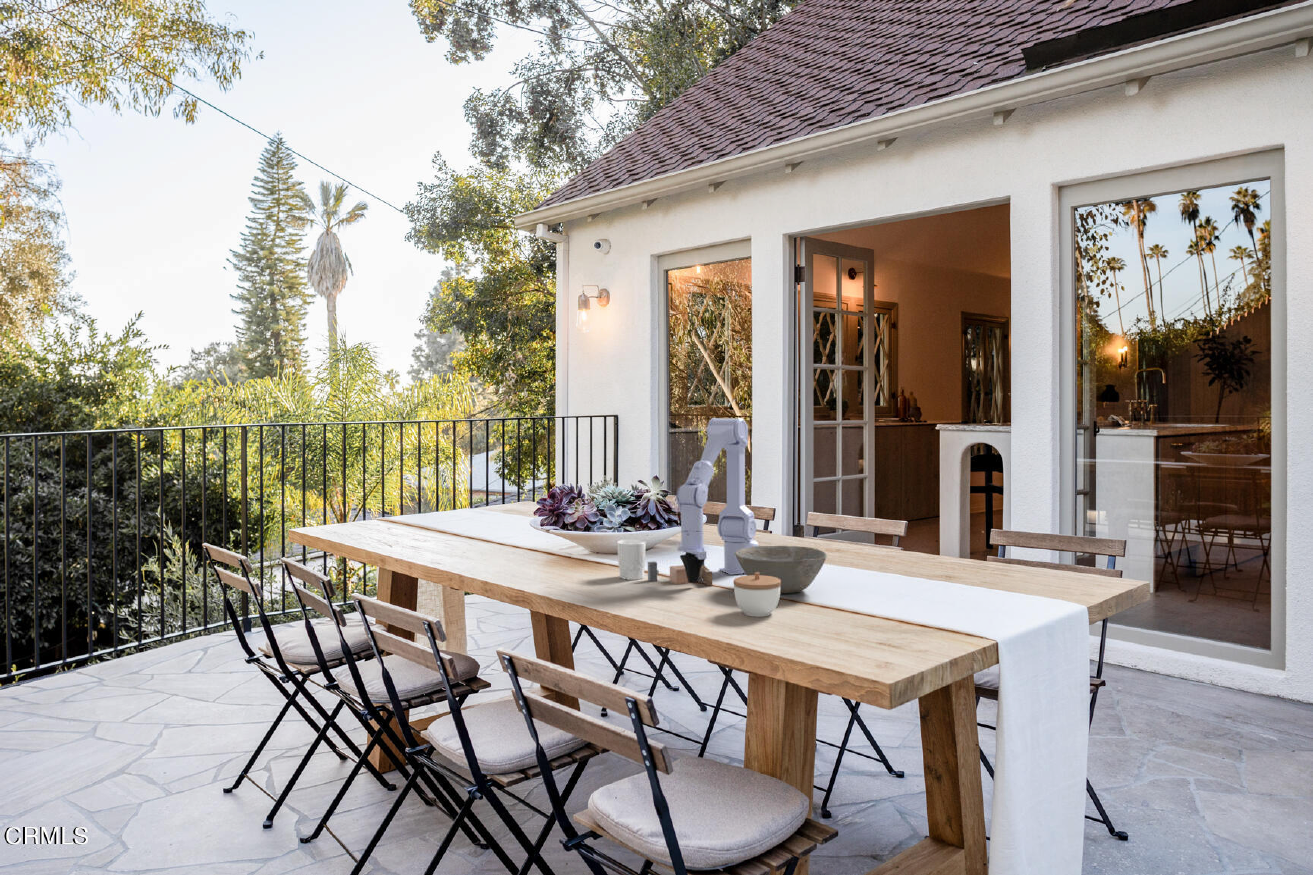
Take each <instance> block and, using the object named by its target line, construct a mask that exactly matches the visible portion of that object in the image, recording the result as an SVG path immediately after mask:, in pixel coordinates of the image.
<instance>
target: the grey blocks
mask: <svg viewBox="0 0 1313 875" xmlns="http://www.w3.org/2000/svg"><path fill="white" fill-rule="evenodd" d="M702 565H704V566H705V561H704V562H703V564H702ZM659 575H660V571H659V570H658V563H657V562H656V561H647V581H649V582H658V576H659ZM699 576H700V573H699Z"/></svg>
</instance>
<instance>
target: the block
mask: <svg viewBox="0 0 1313 875" xmlns="http://www.w3.org/2000/svg"><path fill="white" fill-rule="evenodd" d="M669 581H670V582H672V583H674V584H675V585H681V584H690V583H689V582H688V579H687V574H686V570H685V567H684V564H683V565H670V566H669Z"/></svg>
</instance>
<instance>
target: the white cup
mask: <svg viewBox="0 0 1313 875" xmlns="http://www.w3.org/2000/svg"><path fill="white" fill-rule="evenodd" d="M616 544H617V545H616V546H617V560H618V568H619V569H618V570H619V578H620V579H621V578H622V579H621V580H625V579H627V581H638V580H641V579H644V578H645V568H646V544H647V542H646V540H644V539H621V540H618V541H617V542H616Z"/></svg>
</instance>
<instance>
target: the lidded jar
mask: <svg viewBox="0 0 1313 875" xmlns="http://www.w3.org/2000/svg"><path fill="white" fill-rule="evenodd" d="M780 585H781V580H780V579H779V578H776V577H772V576H764V575H759V573H758V572H756V573H755V575H749V576H747V575H741V576H738V577H735V578H734V579H733V588H734V591H733V592H734V597H735V602H736V605H737V607H738V608H739V609H740V610H741V611H742V612H743V614H744V616H749V617H753V618H755V617H756V618H759V617H761V618H762V617H768V616H771V615H772V612H774V610H776V608H777V606H778V604H779V602H780V597H781V594H780Z"/></svg>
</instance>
